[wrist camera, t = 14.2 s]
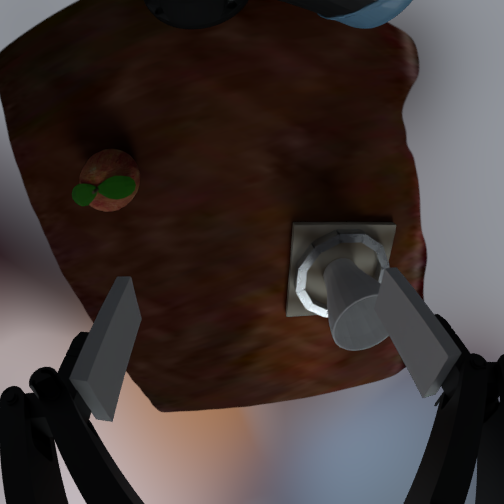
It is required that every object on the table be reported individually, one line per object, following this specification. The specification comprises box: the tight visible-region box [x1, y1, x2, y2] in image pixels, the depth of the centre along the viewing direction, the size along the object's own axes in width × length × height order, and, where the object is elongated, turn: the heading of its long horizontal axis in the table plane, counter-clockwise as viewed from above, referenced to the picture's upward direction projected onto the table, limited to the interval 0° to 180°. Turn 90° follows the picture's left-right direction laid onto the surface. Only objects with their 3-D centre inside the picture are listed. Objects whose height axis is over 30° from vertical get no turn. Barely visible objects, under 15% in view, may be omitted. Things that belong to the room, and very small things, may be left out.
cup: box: [323, 258, 389, 351], centre depth 44 cm, size 10×10×14 cm
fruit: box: [72, 149, 140, 212], centre depth 36 cm, size 9×10×10 cm
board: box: [286, 222, 396, 317], centre depth 51 cm, size 18×18×1 cm
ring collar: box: [294, 229, 389, 317], centre depth 50 cm, size 16×16×2 cm
